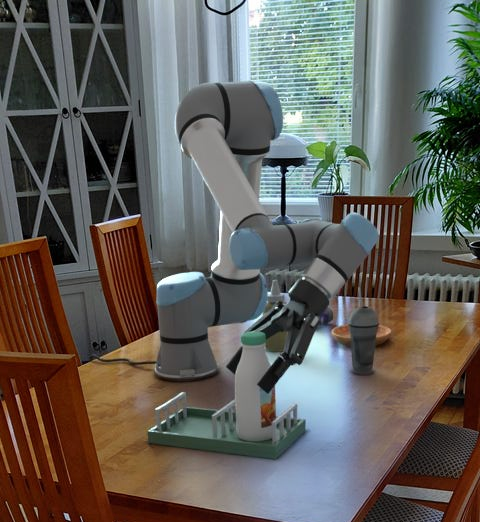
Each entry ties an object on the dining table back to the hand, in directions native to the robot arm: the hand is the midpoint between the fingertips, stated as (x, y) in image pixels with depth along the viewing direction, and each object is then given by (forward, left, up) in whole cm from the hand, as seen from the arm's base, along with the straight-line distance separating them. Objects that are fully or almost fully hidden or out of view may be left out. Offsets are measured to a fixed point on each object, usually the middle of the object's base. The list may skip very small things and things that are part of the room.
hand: (246, 380), depth 164 cm
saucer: (-2, +80, -13) cm, 81 cm away
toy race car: (-24, +94, -13) cm, 98 cm away
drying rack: (-5, +1, -12) cm, 13 cm away
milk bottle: (+1, +1, -12) cm, 12 cm away
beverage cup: (+7, +52, -13) cm, 54 cm away
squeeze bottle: (-21, +66, -13) cm, 71 cm away
